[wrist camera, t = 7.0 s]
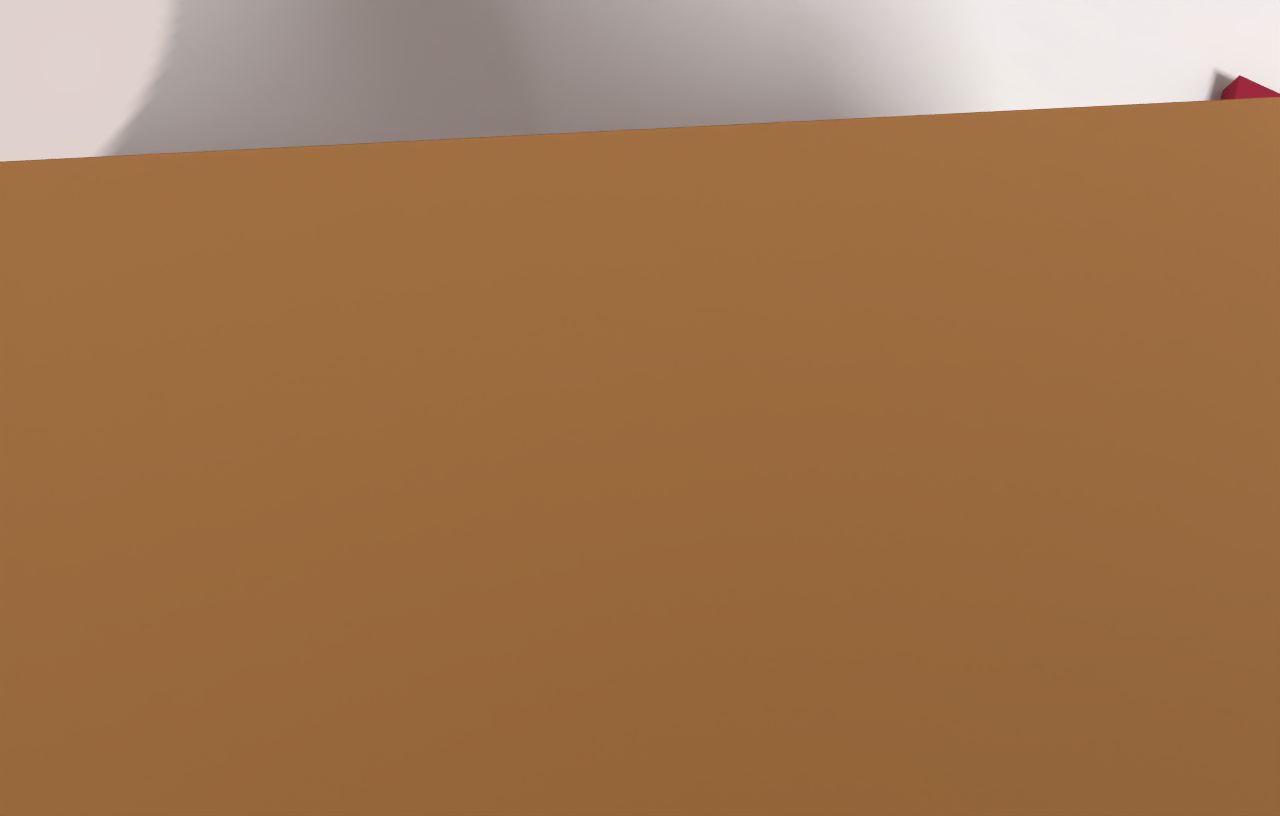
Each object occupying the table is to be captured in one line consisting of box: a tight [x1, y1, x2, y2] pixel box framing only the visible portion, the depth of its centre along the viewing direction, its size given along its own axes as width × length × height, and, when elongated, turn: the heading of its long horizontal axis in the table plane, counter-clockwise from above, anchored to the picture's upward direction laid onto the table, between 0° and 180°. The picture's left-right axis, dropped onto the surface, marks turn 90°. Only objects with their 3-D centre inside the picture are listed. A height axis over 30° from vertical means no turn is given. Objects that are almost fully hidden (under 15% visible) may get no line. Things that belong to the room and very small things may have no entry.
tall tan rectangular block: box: [0, 97, 1280, 816], centre depth 8 cm, size 5×5×12 cm
